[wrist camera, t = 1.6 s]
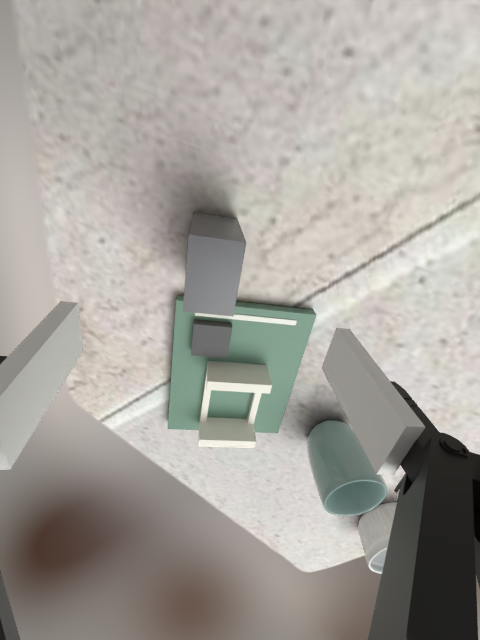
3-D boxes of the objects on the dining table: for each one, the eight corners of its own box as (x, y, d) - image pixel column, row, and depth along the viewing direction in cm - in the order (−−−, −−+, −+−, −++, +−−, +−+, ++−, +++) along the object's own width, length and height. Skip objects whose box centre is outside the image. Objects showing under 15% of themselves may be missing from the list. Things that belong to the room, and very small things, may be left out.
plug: (193, 212, 27) (188, 234, 20) (237, 218, 28) (246, 242, 21) (188, 279, 30) (182, 318, 24) (227, 283, 31) (232, 322, 24)
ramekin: (429, 511, 60) (454, 552, 54) (375, 539, 64) (392, 580, 58) (396, 489, 54) (419, 531, 48) (338, 521, 58) (353, 564, 52)
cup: (292, 443, 45) (312, 513, 36) (316, 407, 42) (343, 475, 33) (337, 450, 47) (365, 519, 38) (362, 416, 43) (400, 484, 35)
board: (177, 295, 31) (172, 317, 27) (313, 309, 33) (327, 332, 29) (168, 421, 40) (164, 452, 36) (275, 426, 43) (282, 455, 39)
